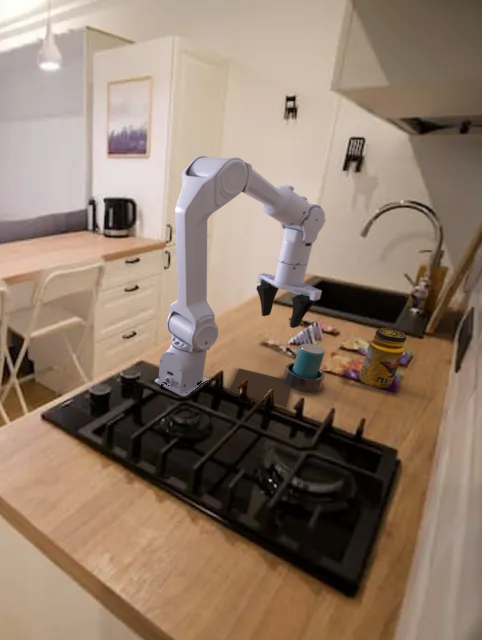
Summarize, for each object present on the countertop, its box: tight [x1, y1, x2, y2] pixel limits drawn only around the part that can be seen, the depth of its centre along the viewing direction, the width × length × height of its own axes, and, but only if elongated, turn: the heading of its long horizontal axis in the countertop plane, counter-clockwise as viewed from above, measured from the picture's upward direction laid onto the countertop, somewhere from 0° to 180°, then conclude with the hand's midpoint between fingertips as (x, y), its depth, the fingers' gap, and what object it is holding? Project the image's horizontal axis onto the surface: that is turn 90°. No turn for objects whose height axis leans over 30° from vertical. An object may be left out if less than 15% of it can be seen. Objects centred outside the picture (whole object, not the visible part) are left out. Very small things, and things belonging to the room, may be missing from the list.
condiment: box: [358, 327, 407, 389], centre depth 86 cm, size 7×8×12 cm
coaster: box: [228, 368, 291, 408], centre depth 85 cm, size 11×11×1 cm
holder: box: [282, 362, 326, 393], centre depth 86 cm, size 7×7×4 cm
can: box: [292, 343, 325, 379], centre depth 85 cm, size 5×5×8 cm
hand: (279, 320), depth 92 cm, fingers open, 7 cm apart
